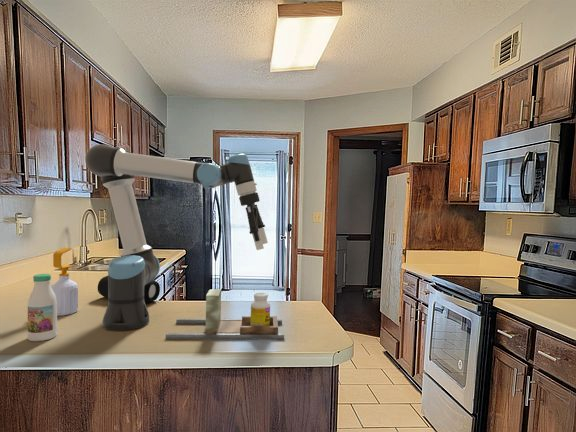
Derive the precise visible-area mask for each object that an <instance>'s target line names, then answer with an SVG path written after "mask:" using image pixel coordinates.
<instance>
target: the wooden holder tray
mask: <svg viewBox="0 0 576 432" xmlns="http://www.w3.org/2000/svg"><path fill="white" fill-rule="evenodd" d="M221 311H222V289H220V288H219V289H213V288H212V289H209V290H208V291H207V293H206V295H205V319H206V324H205V327H204V330H203V332H202V333H259V334H279V324H278V322H277V319H278V316H277V315H270V326H250V322H251V315H241V319H242V321H221V319H222V318H221V317H222V315H221V314H222V312H221Z"/></svg>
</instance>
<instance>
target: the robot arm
mask: <svg viewBox="0 0 576 432" xmlns="http://www.w3.org/2000/svg"><path fill="white" fill-rule="evenodd" d="M84 160H85V165H86V167H87V169H88V170H89V172H91V174H93V175H96V176H98V177H99V178H100V180H101V184H102V186H103V187H104V188H106V189H108V193H109V197H110V202H111V206H112V210H113V214H114V218H115V221H116V225H117V226H116V227H117V228H118V229H117V230H118V234H119V237H120V241H121V245H122V249H123V250H122V251H121V253H120V256H117V257H115V258H112V259H111V260H110V261H109V264H108V268H107V276H108V298H107V299H108V300H107V301H108V303H107V306H106V310H105V312H104V314H103V318H102V328H103V329H105V330H107V331H114V332H116V331H117V332H124V331H131V330H136V329H140V328H143V327H145V326H147V325H148V324H149V323H150V314H149V310H148V308H147V305H146V303H145V302H144V286H145V285H146V284H148V283H150V282H151V281H153V280H154V281H155V279H156V277H157V276H158V275H159V272H160V270H161V265H160V260H159V259H158V257H157V255H155V254H154V250H153V247H152V246H151V245H149V244H147V240H146V236H145V232H144V229H143V224H142V220H141V216H140V212H139V207H138V204H137V199H136V196H135V192H134V187H133V184H134V182H135V181H136V177H145V178H152V179H159V180H166V181H175V182H182V183H191V184H196V185H202V186H203V188H204V189H205V190H208V189H215V188H217V187H220V186H224V185H227V184H231V183H234V184H235V189H236V193H237V196H239V197H238V200H239V204H240V206H241V207H244V206H246V207H245V212H246V216H247V219H248V220H247V221H248V225H249V227H248V228H249V234H250V235H252V238H253V242H254V246H255V250H256V251H259V250H263V249H264V248H265V247H264V245H265V244H268V243H269V242H268V239H267V234H266V231H265V227H266V225H265V224H264V221H263V219H262V215H261V214H260V211H259V208H258V205H257V204H256V203H258V202H260V196H259V193H258V192H257V191H258V189H257V187H256V186H257V185H258V184H257V182H255V178H254V176H253V171H252V167H251V164H250V161H249V158H248V155H247V154H246V153H239V154H236V155H232V156H231V155H230V156H229V157H228V161H227V163H224V164H221V165H216V164H214V163H211V162H197V161H191V160H185V159H175V158H171V157H164V156H163V157H162V156H155V155H148V154H140V153H133V152H128V151H127V150H124V149H123V148H121V147H120V148H119V147H114V146H112V145H108V144H103V143H102V144H96V145H94V146H92V147H91V148H89V149H88V151H86V154H85V159H84ZM135 176H136V177H135Z"/></svg>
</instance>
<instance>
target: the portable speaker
mask: <svg viewBox="0 0 576 432" xmlns="http://www.w3.org/2000/svg"><path fill="white" fill-rule="evenodd" d="M160 291H161V287H160V283H159V282H158V281H156V280H155V279H154V280H153V281H151V282H150V283H148V284H146V285H145V286H144V302H145V304H148V303H152V302H155V301H156V300H157V299H158V298H159V295H160ZM97 292H98V294H99V295H101V296H102V297H104V298H105V299H108V275H106V276H103V277H102V278H100V279H99V281H98V284H97Z"/></svg>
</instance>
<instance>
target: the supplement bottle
mask: <svg viewBox="0 0 576 432" xmlns="http://www.w3.org/2000/svg"><path fill="white" fill-rule="evenodd" d="M253 299H254V300H253V301H251V303H250V316H251V322H250V325H249V326H271V325H270V316H271V303H270V301H269V300H268V293H266V292H255V293H254V294H253Z"/></svg>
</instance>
